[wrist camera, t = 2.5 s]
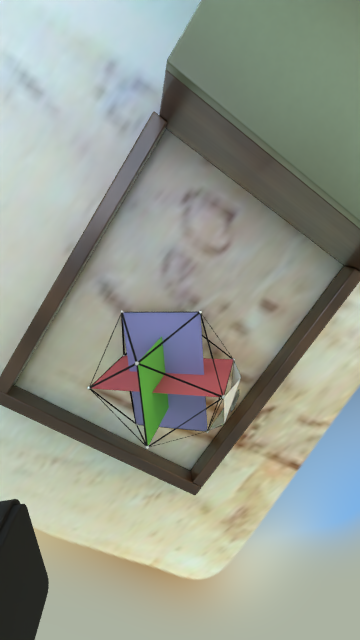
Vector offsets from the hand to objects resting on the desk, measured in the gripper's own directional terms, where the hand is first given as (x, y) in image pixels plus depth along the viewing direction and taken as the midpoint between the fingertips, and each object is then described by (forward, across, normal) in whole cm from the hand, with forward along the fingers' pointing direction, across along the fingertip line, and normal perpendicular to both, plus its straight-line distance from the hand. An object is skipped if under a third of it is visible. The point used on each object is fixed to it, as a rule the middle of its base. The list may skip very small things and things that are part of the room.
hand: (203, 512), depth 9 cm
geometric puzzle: (+12, +1, 0) cm, 12 cm away
